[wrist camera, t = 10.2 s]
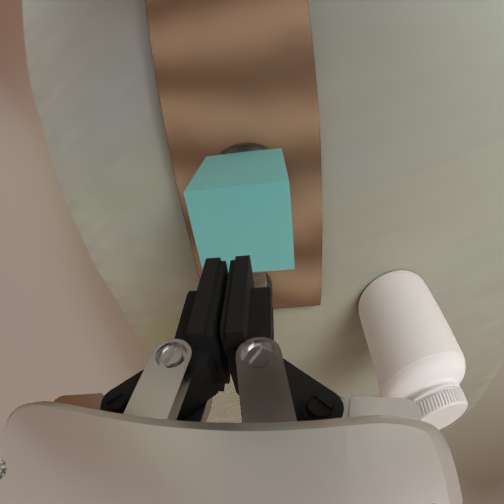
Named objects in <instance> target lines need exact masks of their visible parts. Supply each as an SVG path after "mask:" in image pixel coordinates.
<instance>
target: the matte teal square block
mask: <svg viewBox="0 0 504 504" xmlns="http://www.w3.org/2000/svg"><path fill="white" fill-rule="evenodd" d="M184 197H185V201H186V205H187V210H188V214H189V218H190V222H191V226H192V230H193V235H194V239H195V243H196V247H197V251H198V254H199V258H200V262H201V266H202V270H203V267H204V264H205V260H206V258H217V257H220V258H221V261H226V264H227V269H228V273H229V267H230V261H231V260H235V257H236V256H244V255H250V259H251V266H252V272H264V271H277V270H289V269H295V263H294V245H293V228H292V213H291V199H290V185H289V178H288V173H287V169H286V165H285V160H284V156H283V152H282V148H278V149H267V150H257V151H247V152H238V153H230V154H222V155H215V156H207V157H206V158H205V159H204V161H203V162H202V164H201V165H200V167H199V169H198V170H197V172H196V173H195V175H194V176H193V178H192V180H191V181H190V183H189V184H188V186H187V188H186V189H185V191H184Z"/></svg>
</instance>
